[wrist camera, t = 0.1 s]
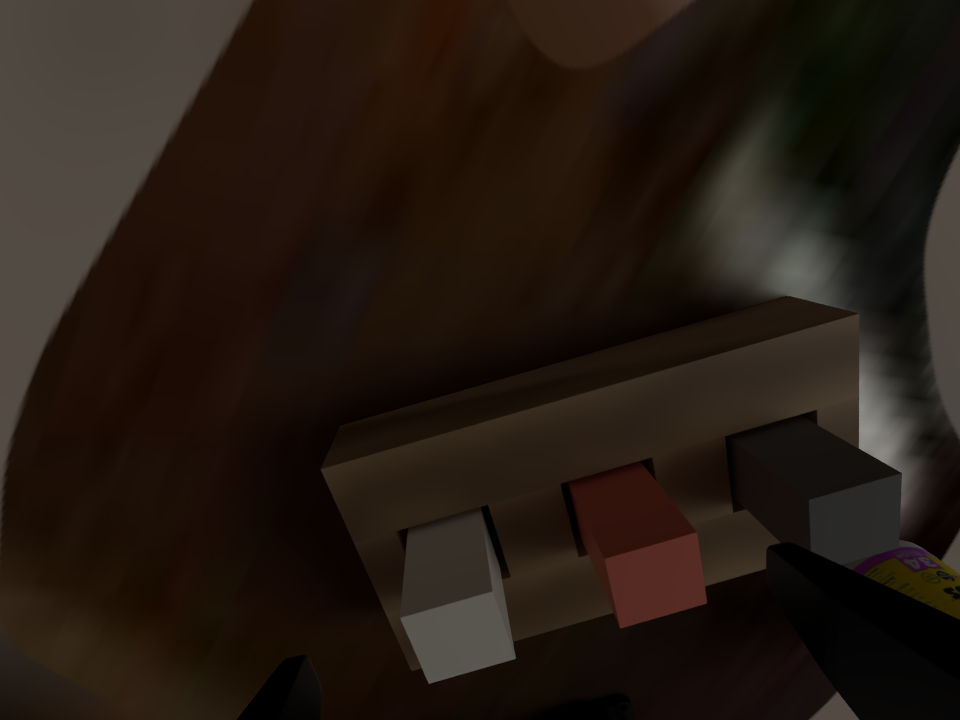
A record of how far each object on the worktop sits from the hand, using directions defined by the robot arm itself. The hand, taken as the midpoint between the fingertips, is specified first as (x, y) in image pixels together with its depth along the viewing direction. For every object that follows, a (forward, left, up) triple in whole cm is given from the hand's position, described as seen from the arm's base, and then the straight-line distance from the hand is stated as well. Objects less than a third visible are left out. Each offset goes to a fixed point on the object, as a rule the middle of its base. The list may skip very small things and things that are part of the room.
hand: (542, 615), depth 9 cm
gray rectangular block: (-7, -12, -11) cm, 18 cm away
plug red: (-7, -4, -11) cm, 14 cm away
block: (-7, -4, -14) cm, 16 cm away
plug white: (-7, +3, -11) cm, 13 cm away
